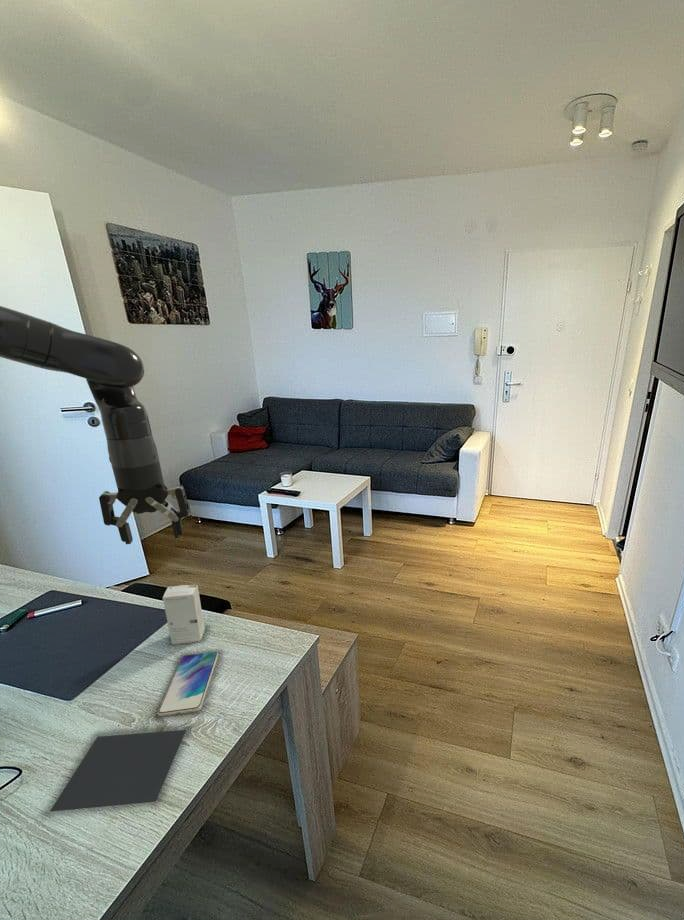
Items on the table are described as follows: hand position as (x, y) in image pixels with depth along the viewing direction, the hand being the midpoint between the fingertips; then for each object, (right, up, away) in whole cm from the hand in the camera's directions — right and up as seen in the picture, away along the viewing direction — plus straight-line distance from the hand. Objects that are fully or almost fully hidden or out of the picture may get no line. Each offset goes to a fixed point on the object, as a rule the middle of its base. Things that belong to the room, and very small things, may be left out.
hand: (154, 539), depth 85 cm
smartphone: (+9, -27, -3) cm, 29 cm away
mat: (+7, -34, -19) cm, 39 cm away
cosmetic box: (+2, -22, +10) cm, 25 cm away
